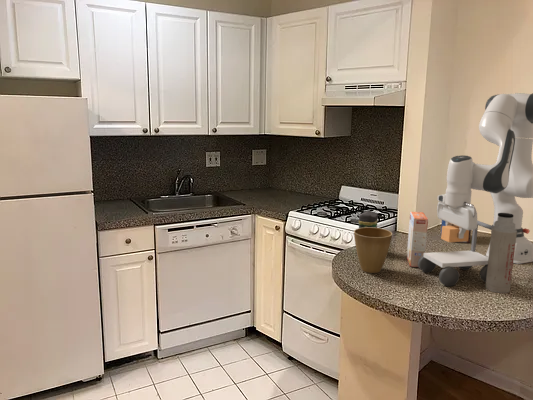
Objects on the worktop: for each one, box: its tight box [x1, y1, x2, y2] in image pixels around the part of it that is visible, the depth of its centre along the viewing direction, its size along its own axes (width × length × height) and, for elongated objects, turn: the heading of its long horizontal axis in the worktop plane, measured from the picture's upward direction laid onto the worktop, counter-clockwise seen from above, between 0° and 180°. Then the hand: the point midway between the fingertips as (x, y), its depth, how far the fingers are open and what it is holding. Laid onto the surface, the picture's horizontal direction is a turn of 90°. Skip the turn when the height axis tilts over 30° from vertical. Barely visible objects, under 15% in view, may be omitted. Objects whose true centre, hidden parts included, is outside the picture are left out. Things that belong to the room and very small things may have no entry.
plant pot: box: [353, 227, 393, 274], centre depth 182 cm, size 15×15×16 cm
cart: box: [417, 220, 494, 287], centre depth 175 cm, size 24×17×21 cm
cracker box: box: [406, 211, 429, 268], centre depth 192 cm, size 14×6×21 cm, turn 168°
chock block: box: [440, 225, 469, 243], centre depth 171 cm, size 8×5×5 cm, turn 101°
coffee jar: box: [358, 210, 379, 228], centre depth 207 cm, size 10×8×19 cm
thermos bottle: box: [485, 213, 517, 294], centre depth 163 cm, size 8×8×28 cm
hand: (455, 235), depth 171 cm, fingers closed on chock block, 5 cm apart
